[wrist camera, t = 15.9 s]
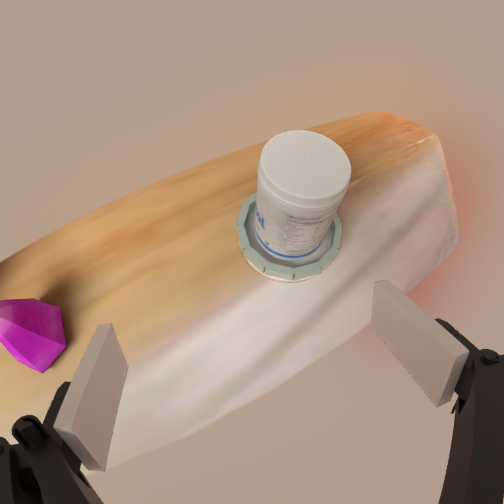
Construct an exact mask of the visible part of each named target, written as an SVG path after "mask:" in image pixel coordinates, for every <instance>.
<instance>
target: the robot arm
mask: <svg viewBox="0 0 504 504" xmlns="http://www.w3.org/2000/svg"><path fill="white" fill-rule="evenodd" d="M371 328H372V329H373V331H374V332H375V333H376V334H377V335H378V337H379V338H380V339H381V340H382V341H383V342H384V344H385V345H386V346H387V347H388V348H389V350H390V351H391V352H392V353H393V354H394V355H395V357H396V358H397V359H398V361H399V362H400V363H401V364H402V365H403V367H404V368H405V369H406V370H407V371H408V373H409V374H410V375H411V376H412V378H413V379H414V380H415V381H416V383H417V384H418V385H419V386H420V387H421V389H422V390H423V391H424V393H425V394H426V395H427V396H428V398H429V399H430V400H431V401H432V403H433V404H434V405H435V406H436V407H439V406H441V405H443V404H445V403H447V402H449V401H450V400H451V398H452V395H453V393H454V391H455V392H456V393H457V394H458V398H457V400H456V403H455V405H454V407H453V409H452V412H451V413H452V414H453V413H454V411H455V409H456V412H455V420H454V429H453V437H452V442H451V449H450V455H449V460H448V465H447V470H446V475H445V480H444V484H443V488H442V492H441V496H440V500H439V504H503V497H504V355H499V354H498V353H496V352H495V351H493V350H489V349H482V350H479V349H477V348H476V347H475V346H474V345H473V344H472V343H471V342H470V341H468V340H467V339H466V338H465V337H464V336H463V335H460V333H459V332H458V331H457V330H455V329H454V328H453V327H452V326H451V325H450V324H449V323H448V322H445V321H443V320H441V319H439V318H438V319H433V318H432V317H431V316H430V315H429V314H427V313H426V312H425V311H424V310H423V309H422V308H420V307H419V306H418V305H417V304H416V303H415V302H413V301H412V300H411V299H410V298H409V297H407V296H406V295H405V294H404V293H403V292H401V291H400V290H399V289H398V288H397V287H395V286H394V285H393V284H392V283H390V282H389V281H388V280H383V281H379V282H375V284H374V297H373V308H372V318H371ZM127 371H128V364H127V362H126V359H125V357H124V354H123V352H122V349H121V347H120V344H119V342H118V339H117V336H116V334H115V331H114V328H113V325H112V324H101V325H98V326H97V328H96V330H95V332H94V334H93V336H92V338H91V340H90V342H89V345H88V347H87V349H86V351H85V353H84V355H83V357H82V359H81V362H80V364H79V366H78V368H77V370H76V373H75V375H74V377H73V379H72V382H64V383H63V384H62V385H61V386H60V387H59V388H58V389H57V392H56V394H55V396H54V400H53V401H52V403H51V407H49V410H48V412H47V414H46V417H45V419H44V422H43V424H42V423H41V422H40V421H39V419H38V418H37V417H35V416H33V415H26V416H23V417H21V418H19V419H18V420H17V421H16V422H15V423H14V425H13V427H12V435H13V436H14V438H15V439H16V440H17V441H18V443H19V444H14V445H10V444H9V443H8V441H7V440H6V439H5V438H3V437H0V504H104V503H103V502H102V501H101V499H100V498H99V497H98V495H97V494H96V492H95V491H94V489H93V488H92V487H91V485H90V484H89V482H88V480H87V479H86V477H85V476H84V474H83V473H82V472H81V471H80V466H81V462H82V464H83V465H84V466H85V467H86V468H87V469H88V470H93V471H104V472H105V470H106V464H107V459H108V454H109V448H110V444H111V439H112V434H113V429H114V425H115V420H116V416H117V411H118V407H119V403H120V399H121V395H122V391H123V387H124V383H125V379H126V375H127Z"/></svg>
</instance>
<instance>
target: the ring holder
mask: <svg viewBox="0 0 504 504" xmlns="http://www.w3.org/2000/svg"><path fill="white" fill-rule="evenodd" d="M255 207H256V192H255V193H254V194H252V195H251V196H250V197H249V198H247V199H246V200H245V201H244V203H243V204H242V207H241V210H240V213H239V216H238V219H237V222H236V233H237V236H238V242H239V247H240V249H241V252H242V254H243V256H244V258H245V259H246V261H247V262H248V264H249V265H250V266H251V267H252V268H253V269H255V270H256V271H257V272H258V273H260V274H262V275H263V276H265V277H267V278H269V279H272V280H275V281H280V282H288V283H293V282H301V281H305V280H308V279H311V278H313V277H315V276H317V275H318V274H320V273H321V272H322V271H323V270H324V269H325V268H326V267H327V266H328V265H329V263H330V262H331V261H332V260H333V258H334V257H335V256H336V255H337V253H338V251H339V249H340V244H341V237H342V229H343V226H342V223H341V220H340V218H339V216H338V214H337V212H336V214H335V216H334V218H333V220H332V223H331V225H330V227H329V229H328V231H327V233H326V235H325V237H324V239H323V241H322V243H321V244H320V246H319V248H318V249H317V250H316V251H315V252H314V253H313V254H312V255H310V256H308V257H306V258H304V259H301V260H296V261H287V260H282V259H279V258H276V257H274V256H272V255H270V254H269V253H268V252H266V251H265V250H264V249H263V248H262V246H261V245H260V243H259V242H258V240H257V237H256V234H255V230H254V224H255Z"/></svg>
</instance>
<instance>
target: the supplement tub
mask: <svg viewBox="0 0 504 504" xmlns="http://www.w3.org/2000/svg"><path fill="white" fill-rule="evenodd" d="M350 177H351V164H350V161H349V158H348V156H347V155H346V153H345V152H344V150H343V149H342V148H341V147H340V146H339V145H338V144H337V143H335V142H334V141H333V140H331V139H330V138H328V137H326V136H324V135H322V134H319V133H316V132H312V131H306V130H291V131H286V132H283V133H280V134H277V135H276V136H274V137H272V138H271V139H270V140H269V141H268V142H267V143H266V144H265V146H264V147H263V149H262V152H261V156H260V159H259V164H258V175H257V191H256V207H255V224H254V230H255V234H256V237H257V240H258V242H259V243H260V245H261V246H262V248H263V249H264V250H265V251H266V252H268V253H269V254H270V255H272V256H274V257H276V258H279V259H282V260H287V261H296V260H301V259H304V258H306V257H308V256H310V255H312V254H313V253H314V252H315V251H316V250H317V249H318V248H319V246H320V244H321V243H322V241H323V239H324V237H325V235H326V233H327V231H328V229H329V227H330V225H331V223H332V220H333V218H334V216H335V214H336V212H337V210H338V208H339V206H340V204H341V202H342V199H343V197H344V195H345V193H346V191H347V188H348V185H349V180H350Z"/></svg>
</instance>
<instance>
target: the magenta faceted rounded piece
mask: <svg viewBox="0 0 504 504" xmlns="http://www.w3.org/2000/svg"><path fill="white" fill-rule="evenodd" d="M0 341H1V343H2V344H3V345H4V346H5V347H6V349H7V350H8V351H9V352H10V353H11V354H12V356H13V357H14V358H15V359H16V360H17V361H19V362H21V363H23V364H25V365H27V366H29V367H31V368H33V369H35V370H37V371H39V372H41V373H44V372H45V371H46V370H47V369H48V368H49V367H50V366H51V365H52V363H53V362H54V361H55V360H56V359H57V357H58V356H59V355H60V354H61V353H62V351H63V350H64V349H65V348H66V347H67V345H66V339H65V333H64V326H63V319H62V313H61V309H60V307H58V306H55V305H52V304H49V303H46V302H43V301H40V300H37V299H34V298H32V299H13V300H1V301H0Z"/></svg>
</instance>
